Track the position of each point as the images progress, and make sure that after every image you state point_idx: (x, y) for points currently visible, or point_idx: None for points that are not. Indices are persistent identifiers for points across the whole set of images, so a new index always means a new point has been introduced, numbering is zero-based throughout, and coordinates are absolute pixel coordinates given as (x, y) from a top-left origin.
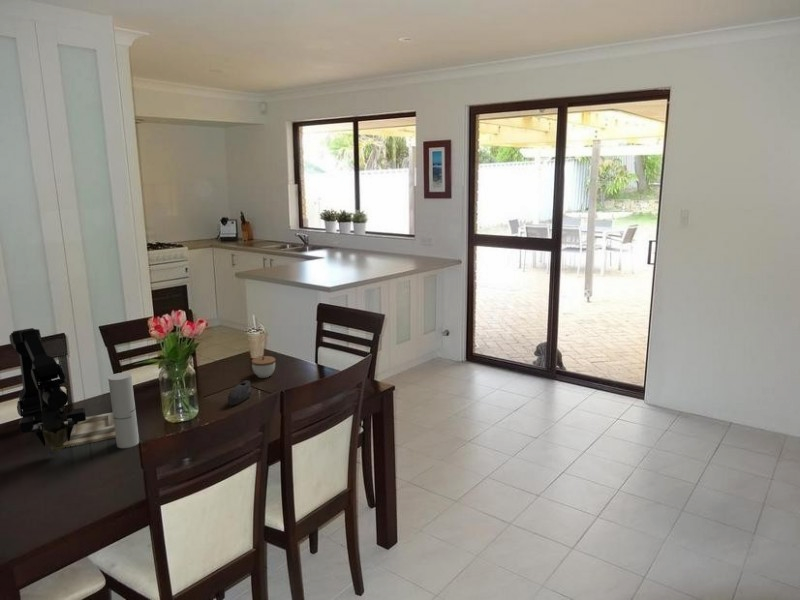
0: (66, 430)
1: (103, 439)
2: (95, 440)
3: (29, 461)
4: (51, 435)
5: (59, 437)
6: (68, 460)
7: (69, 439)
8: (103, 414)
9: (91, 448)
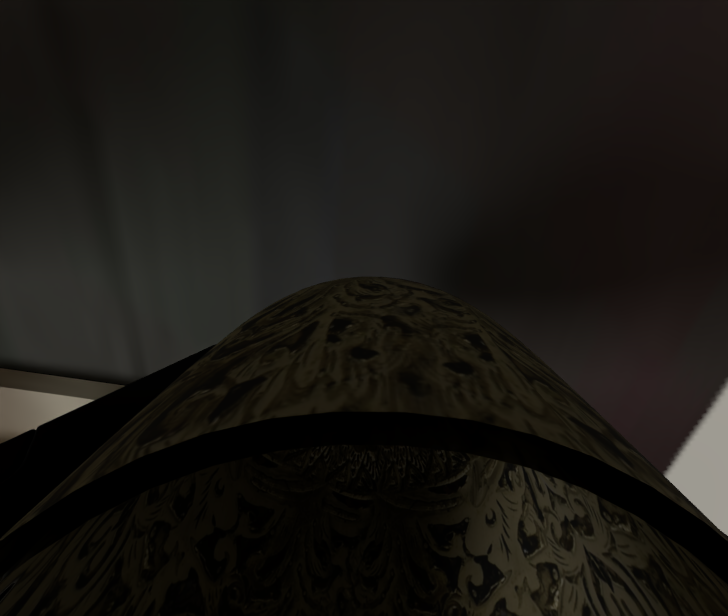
0: (48, 520)
1: (41, 377)
2: (96, 389)
3: (584, 346)
4: (570, 428)
5: (302, 323)
6: (304, 141)
7: (196, 354)
8: None
9: (113, 282)
